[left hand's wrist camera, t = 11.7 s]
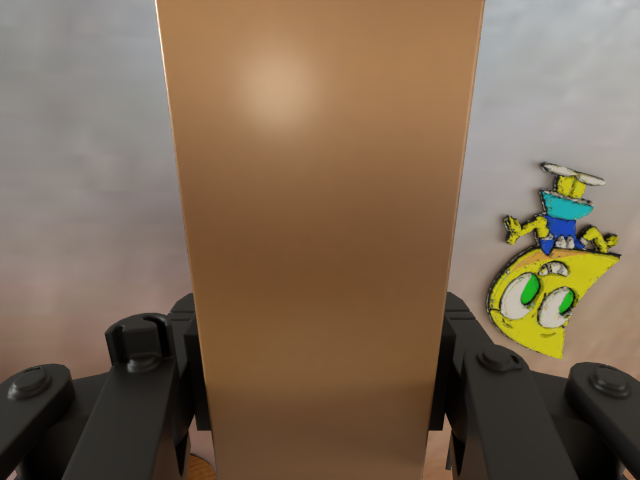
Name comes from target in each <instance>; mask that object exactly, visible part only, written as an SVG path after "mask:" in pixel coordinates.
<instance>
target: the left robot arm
mask: <svg viewBox="0 0 640 480" xmlns="http://www.w3.org/2000/svg"><path fill="white" fill-rule="evenodd" d="M105 337H106V341H107V346H108V350H109V354H110V359H111V363H112V367H111V369H110V372H107V373H103V374H100V375H95V376H90V377H85V378H80V379H75V380H72V377H71V374H70V370H69V369H68V368H67V367H65V366H64V365H59V364H45V365H39V366H34V367H31V368H28V369H25V370H23V371H21V372H19V373H17V374H15V375H13V376H11V377H10V378H8V379H7V380H5V381H4V382H2V383H1V384H0V480H6V479H7V478H8V477H9V475H10V474H11V473H12V472H13V471H14V470H16V473H17V476H16V477H15V479H14V480H187V475H188V466H189V457H190V448H191V444H190V437H189V430H188V429H189V427H190V424H191V422H192V419H193V417H194V414H195V418H196V425H197V431H211V425H210V417H209V409H208V402H207V394H206V387H205V379H204V371H203V364H202V356H201V349H200V341H199V334H198V326H197V318H196V311H195V303H194V296H193V293H189V294H188V295H186V296H185V297H183V298H182V299H180V300H179V301H177V302H176V304H175V305H174V307H173V308H172V309H171V311H170V313H169V314H168V315H167V316H166V315H163V314H159V313H143V314H138V315H133V316H130V317H127V318H125V319H122V320H120V321H118V322H117V323H115V324H113V325H112V326H110V328H109V329H108V330H107V331H106V332H105ZM445 413H446V415H447V418H448V420H449V423H450V425H451V428H452V430H451V437H450V443H449V449H448V455H447V462H446V470H451V465H452V474H453V480H628V479H627V478H626V477H625V476H624V474H623V472H624V469H625V467H626V468H627V470H628V471H629V472H630V473H631V474H632V475H633V477H634V478H635V479H636V480H640V382H639V381H638V380H636V379H635V378H633V377H632V376H630V375H629V374H627V373H625V372H623V371H620V370H618V369H617V368H615V367H612V366H609V365H608V366H607V365H605V364H600V363H592V362H583V363H576V364H575V365H574V366H573V367H571V369H570V373H569V376H568V378H563V377H558V376H553V375H548V374H543V373H539V372H535V371H531V370H530V369H529V367H528V365H527V363H526V362H525V361H524V359H523V358H522V357H521V356H519V355H518V354H516V353H515V352H514V351H512V350H510V349H507V348H505V347H503V346H500V345H495V344H494V343H493V341H492V340H491V339H490V337H489V336H488V335H487V333H486V332H485V330H484V329H483V328H482V326H481V325H480V323H479V322H478V321H477V320H476V319H475V317H474V315H473V314H472V312H470V310H469V308H468V307H467V305H466V304H465V303H464V301H463V300H462V299H460V298H459V297H457V296H455V295H454V294H452V293H451V292H447V294H446V302H445V310H444V317H443V325H442V333H441V340H440V348H439V355H438V363H437V371H436V378H435V386H434V393H433V401H432V409H431V416H430V424H429V431H442V430H443V423H444V416H445Z"/></svg>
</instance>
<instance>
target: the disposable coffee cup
mask: <svg viewBox="0 0 640 480" xmlns="http://www.w3.org/2000/svg"><path fill="white" fill-rule="evenodd" d="M187 480H217V479H216V474H215V471H214V470H213V468H212V467H211V466H210V465H209V464H208V463H207V462H205V461H204V460H202V459H200V458H198V457H195V456H192V455H190V457H189V466H188V475H187Z"/></svg>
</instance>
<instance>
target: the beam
mask: <svg viewBox="0 0 640 480" xmlns="http://www.w3.org/2000/svg"><path fill="white" fill-rule="evenodd" d="M484 5H485V0H155V7H156V15H157V22H158V30H159V38H160V45H161V53H162V60H163V68H164V76H165V83H166V91H167V98H168V106H169V113H170V121H171V129H172V136H173V144H174V151H175V159H176V167H177V174H178V182H179V189H180V197H181V205H182V212H183V220H184V227H185V235H186V242H187V250H188V258H189V265H190V273H191V280H192V288H193V296H194V303H195V311H196V318H197V326H198V334H199V341H200V349H201V356H202V364H203V371H204V379H205V387H206V394H207V402H208V409H209V417H210V425H211V432H212V440H213V447H214V455H215V463H216V470H217V478H218V480H422V477H423V470H424V462H425V454H426V447H427V439H428V432H429V424H430V416H431V409H432V401H433V393H434V386H435V378H436V371H437V363H438V355H439V348H440V340H441V333H442V325H443V317H444V310H445V302H446V294H447V287H448V279H449V272H450V264H451V256H452V249H453V241H454V234H455V226H456V218H457V211H458V203H459V195H460V188H461V180H462V173H463V165H464V157H465V150H466V142H467V135H468V127H469V119H470V112H471V104H472V96H473V89H474V81H475V74H476V66H477V58H478V51H479V43H480V36H481V28H482V20H483V13H484Z"/></svg>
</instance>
